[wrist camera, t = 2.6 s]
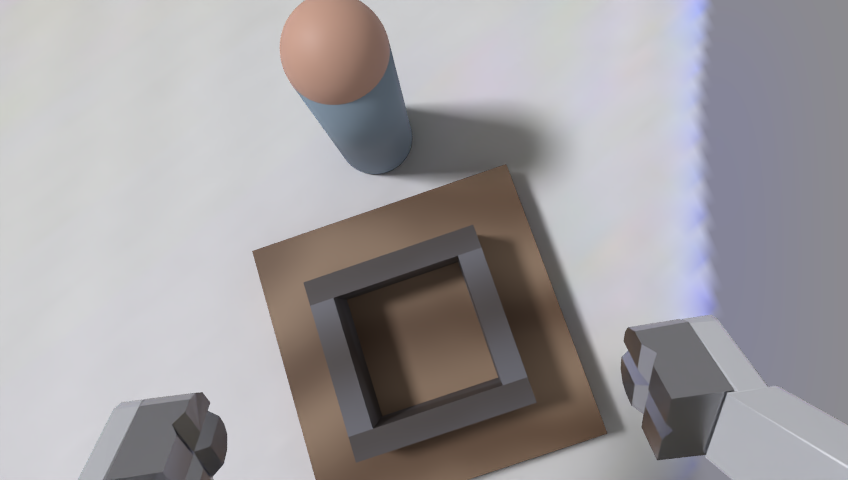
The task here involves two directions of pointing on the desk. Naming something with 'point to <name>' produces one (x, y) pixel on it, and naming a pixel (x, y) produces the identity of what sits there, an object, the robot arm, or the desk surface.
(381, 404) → the jig
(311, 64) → the peach-tipped grey cylinder
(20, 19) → the desk surface
